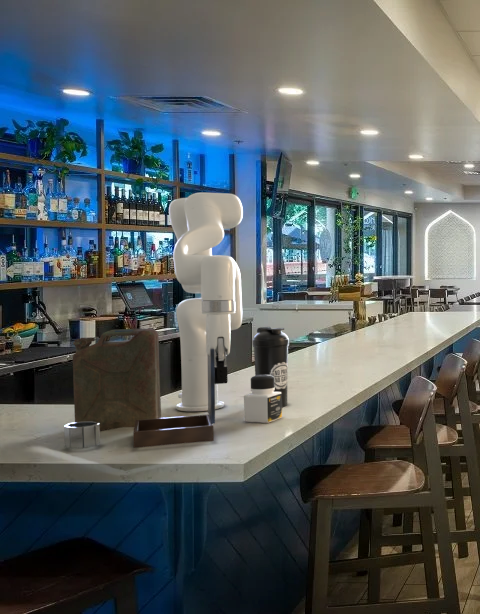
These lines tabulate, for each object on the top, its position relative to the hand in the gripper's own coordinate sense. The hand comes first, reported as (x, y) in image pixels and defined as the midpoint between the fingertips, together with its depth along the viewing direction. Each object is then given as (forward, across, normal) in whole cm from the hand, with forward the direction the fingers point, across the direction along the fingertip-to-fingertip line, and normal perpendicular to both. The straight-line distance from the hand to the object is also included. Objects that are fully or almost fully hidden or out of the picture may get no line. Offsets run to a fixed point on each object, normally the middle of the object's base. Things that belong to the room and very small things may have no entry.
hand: (220, 382), depth 191 cm
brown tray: (+13, 0, -10) cm, 17 cm away
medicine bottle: (+13, -16, +12) cm, 24 cm away
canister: (+13, -22, -23) cm, 34 cm away
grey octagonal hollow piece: (+13, -1, -29) cm, 32 cm away
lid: (0, 0, -2) cm, 2 cm away
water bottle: (+13, -36, +16) cm, 42 cm away
